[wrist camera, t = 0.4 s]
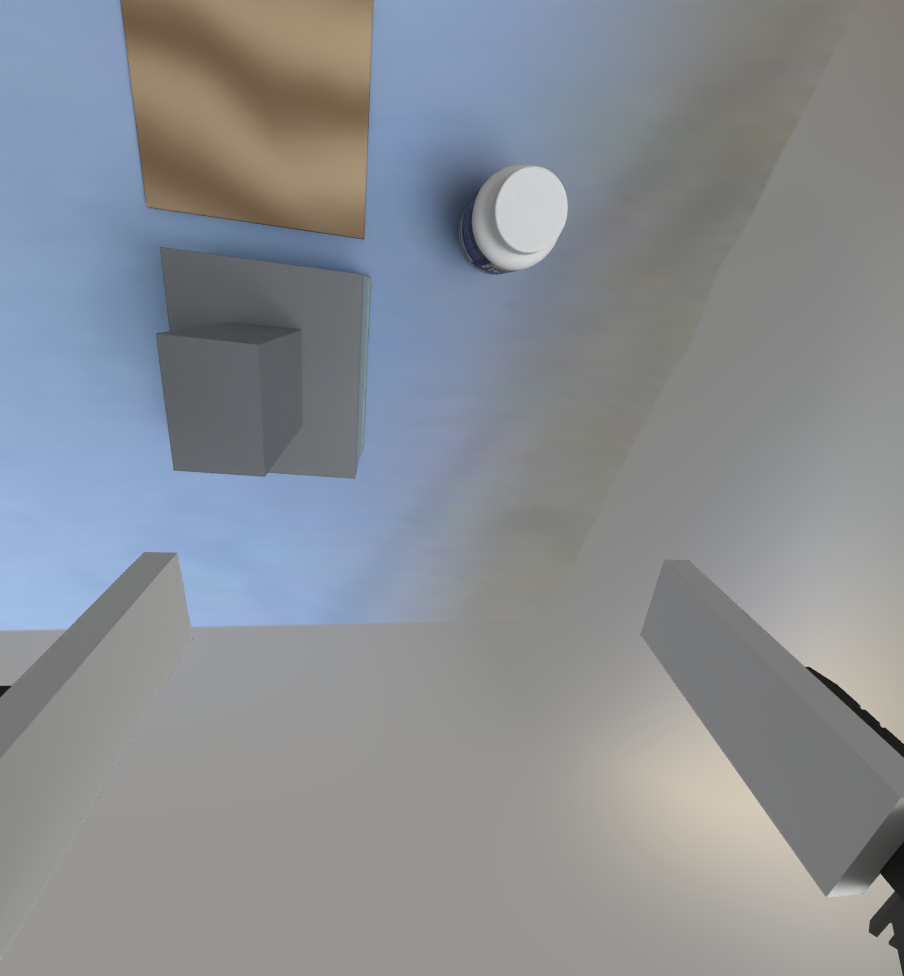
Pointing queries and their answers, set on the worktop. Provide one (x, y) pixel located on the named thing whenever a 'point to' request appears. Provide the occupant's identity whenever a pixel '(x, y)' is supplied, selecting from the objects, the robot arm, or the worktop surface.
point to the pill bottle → (513, 219)
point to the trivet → (254, 108)
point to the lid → (260, 366)
